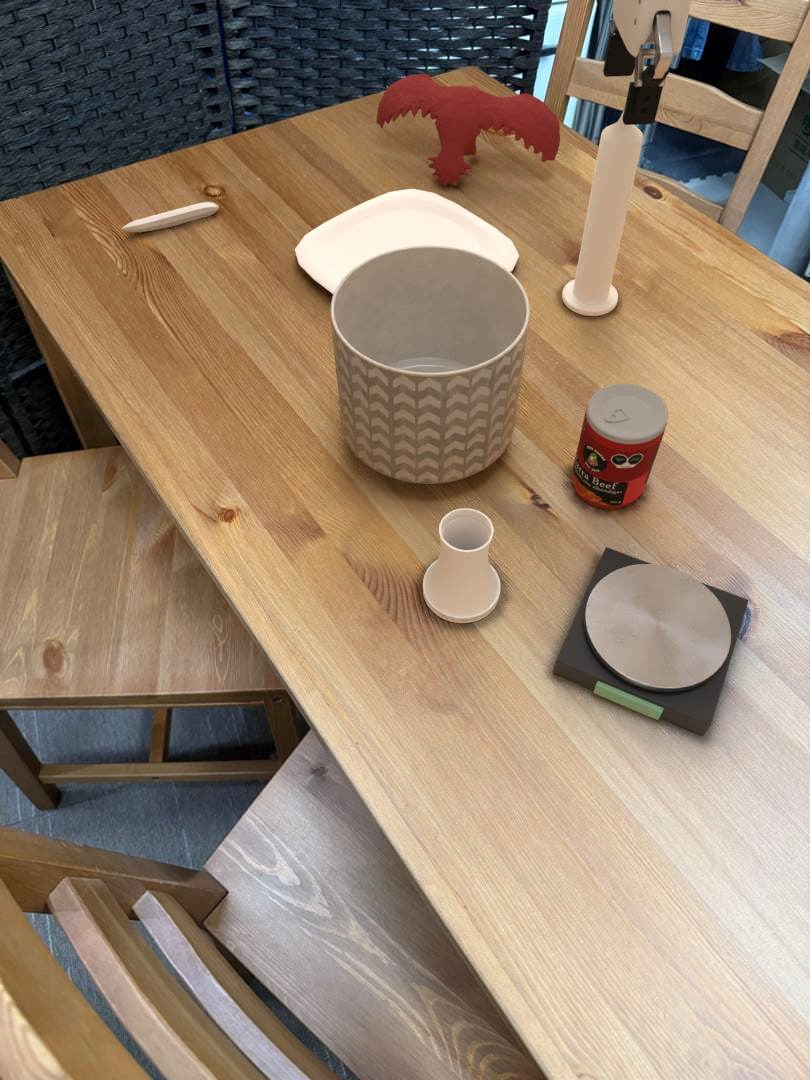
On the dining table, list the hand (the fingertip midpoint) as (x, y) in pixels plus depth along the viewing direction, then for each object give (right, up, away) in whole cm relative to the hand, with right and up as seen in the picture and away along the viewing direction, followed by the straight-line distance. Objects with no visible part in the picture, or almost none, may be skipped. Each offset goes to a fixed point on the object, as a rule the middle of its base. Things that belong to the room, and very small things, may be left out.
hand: (627, 98), depth 89 cm
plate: (-23, -9, +26) cm, 36 cm away
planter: (-21, -35, +7) cm, 41 cm away
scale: (0, -56, -9) cm, 56 cm away
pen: (-56, -2, +31) cm, 64 cm away
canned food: (-1, -40, +3) cm, 40 cm away
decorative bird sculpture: (-15, +10, +39) cm, 43 cm away
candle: (+1, -15, +21) cm, 26 cm away
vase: (-18, -51, -5) cm, 54 cm away
